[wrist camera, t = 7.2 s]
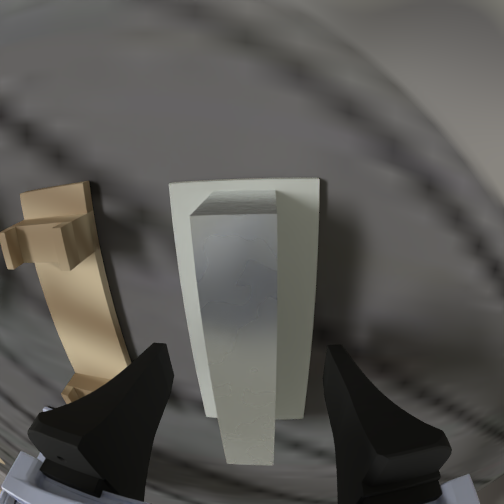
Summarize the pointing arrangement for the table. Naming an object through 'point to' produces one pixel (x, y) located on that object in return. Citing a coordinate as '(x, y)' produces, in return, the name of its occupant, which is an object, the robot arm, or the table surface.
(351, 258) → the table surface
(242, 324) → the rail
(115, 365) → the rack
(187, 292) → the mat
